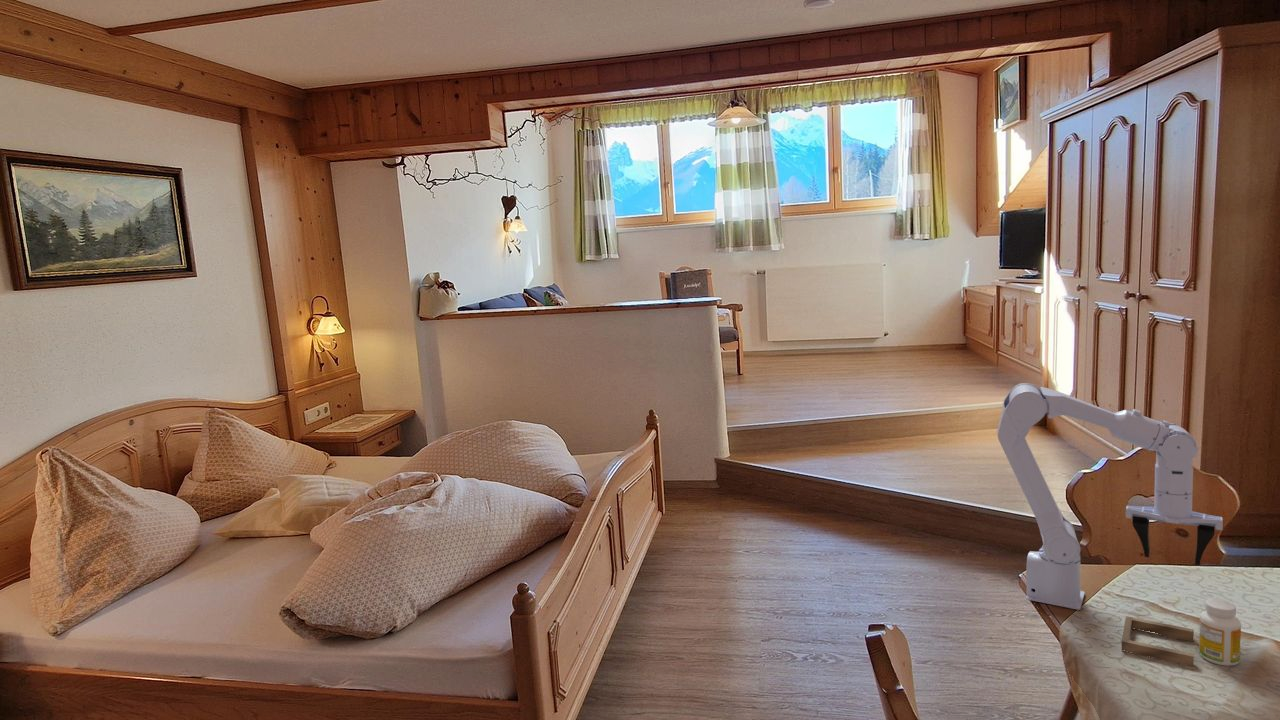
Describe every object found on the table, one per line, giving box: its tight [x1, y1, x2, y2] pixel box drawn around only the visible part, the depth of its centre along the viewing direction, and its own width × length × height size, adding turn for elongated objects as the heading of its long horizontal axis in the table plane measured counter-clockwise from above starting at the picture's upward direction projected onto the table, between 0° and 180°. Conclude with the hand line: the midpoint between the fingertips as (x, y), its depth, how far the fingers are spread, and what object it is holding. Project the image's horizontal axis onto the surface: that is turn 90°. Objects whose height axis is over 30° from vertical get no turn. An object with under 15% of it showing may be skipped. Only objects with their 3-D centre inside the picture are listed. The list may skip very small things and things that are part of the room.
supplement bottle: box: [1198, 598, 1242, 667], centre depth 121 cm, size 5×5×10 cm
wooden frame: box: [1121, 615, 1195, 667], centre depth 126 cm, size 10×10×2 cm
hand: (1171, 559), depth 136 cm, fingers open, 7 cm apart
